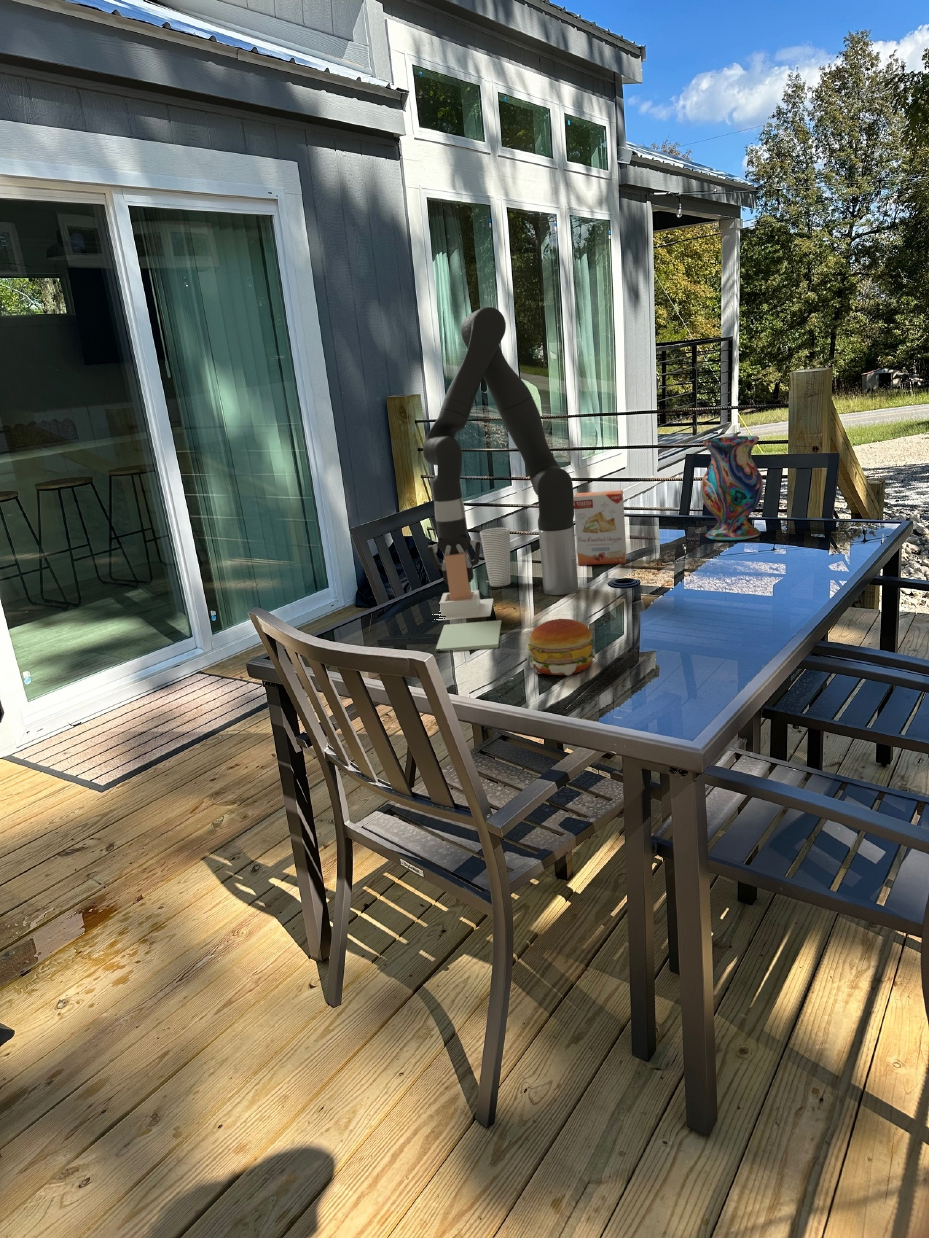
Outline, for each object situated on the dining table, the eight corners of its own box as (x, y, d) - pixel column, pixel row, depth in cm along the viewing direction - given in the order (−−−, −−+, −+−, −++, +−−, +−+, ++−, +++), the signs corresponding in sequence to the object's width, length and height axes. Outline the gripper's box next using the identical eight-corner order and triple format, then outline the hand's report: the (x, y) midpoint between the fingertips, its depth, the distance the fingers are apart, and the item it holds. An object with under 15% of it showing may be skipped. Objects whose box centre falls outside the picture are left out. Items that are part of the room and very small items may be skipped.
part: (471, 594, 223) (465, 549, 219) (470, 600, 218) (464, 554, 214) (452, 596, 223) (446, 551, 220) (450, 602, 218) (444, 556, 215)
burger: (590, 653, 181) (587, 608, 178) (602, 676, 168) (599, 627, 165) (526, 661, 181) (522, 615, 178) (534, 683, 168) (529, 635, 165)
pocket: (493, 600, 228) (492, 585, 227) (490, 618, 213) (488, 602, 212) (434, 605, 230) (432, 591, 229) (426, 623, 215) (424, 607, 214)
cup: (512, 587, 240) (507, 532, 235) (482, 588, 241) (476, 534, 237) (517, 579, 247) (511, 526, 243) (488, 581, 249) (482, 528, 245)
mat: (501, 623, 208) (501, 620, 208) (498, 647, 191) (497, 644, 191) (444, 628, 210) (444, 624, 209) (436, 652, 192) (435, 649, 192)
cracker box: (577, 566, 254) (572, 496, 248) (580, 561, 260) (575, 492, 254) (625, 563, 251) (621, 492, 245) (627, 558, 256) (623, 489, 250)
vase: (690, 537, 274) (687, 442, 266) (735, 527, 281) (733, 434, 273) (730, 545, 258) (727, 444, 250) (776, 534, 265) (776, 435, 257)
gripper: (479, 511, 217) (487, 576, 222) (424, 517, 219) (433, 581, 224) (478, 516, 210) (486, 583, 215) (420, 523, 212) (429, 589, 216)
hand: (459, 582), depth 219 cm, fingers closed on part, 5 cm apart
